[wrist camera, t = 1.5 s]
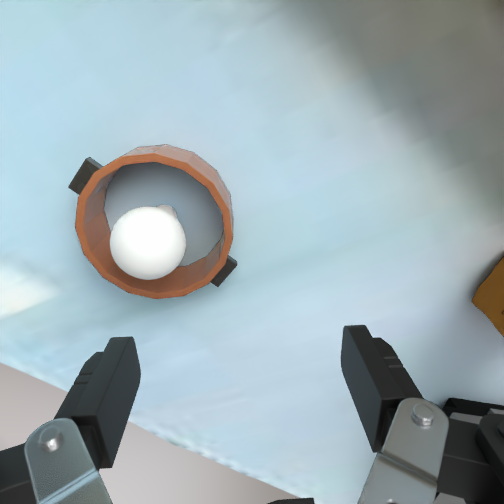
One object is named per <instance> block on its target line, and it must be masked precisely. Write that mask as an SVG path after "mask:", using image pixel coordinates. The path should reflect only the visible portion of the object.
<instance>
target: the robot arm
mask: <svg viewBox="0 0 504 504" xmlns="http://www.w3.org/2000/svg"><path fill="white" fill-rule="evenodd" d="M341 367H342V372H343V375H344V378H345V380H346V383H347V386H348V388H349V391H350V393H351V396H352V399H353V401H354V404H355V407H356V409H357V412H358V414H359V417H360V420H361V422H362V425H363V427H364V430H365V433H366V435H367V438H368V440H369V443H370V446H371V448H372V451H373V453H375V452H378V453H377V455H376V457H375V460H374V463H373V465H372V468H371V470H370V473H369V475H368V478H367V480H366V483H365V486H364V488H363V491H362V493H361V496H360V498H359V501H358V503H357V504H434V501H435V496H436V492H440V493H444V494H447V495H451V496H455V497H459V498H463V499H464V501H465V502H466V504H504V415H502V414H495V413H493V414H487V415H485V416H483V417H482V418H481V420H480V423H479V424H475V423H470V422H465V421H461V420H456V419H452V418H449V417H447V416H446V414H445V413H444V412H443V411H442V410H441V409H440V408H439V407H438V406H437V405H435V404H434V403H432V402H430V401H428V400H425V399H424V398H423V397H422V395H421V394H420V392H419V390H418V389H417V387H416V385H415V384H414V382H413V381H412V379H411V377H410V376H409V374H408V372H407V371H406V369H405V368H404V367H403V364H402V363H401V361H400V360H399V359H398V356H397V355H396V353H395V351H394V350H393V348H392V347H391V346H390V345H389V344H388V343H387V342H385V341H384V340H383V339H382V338H372V336H371V334H370V332H369V330H368V329H367V327H366V326H365V325H351V326H344V329H343V339H342V350H341ZM140 377H141V370H140V364H139V360H138V355H137V350H136V345H135V341H134V338H133V337H113V338H111V339H110V340H109V342H108V344H107V346H106V348H105V350H104V352H96V353H95V354H94V355H93V356H92V357H91V358H90V359H88V360H87V361H86V362H85V364H84V366H83V367H82V369H81V371H80V373H79V376H77V378H76V380H75V382H74V385H72V387H71V389H70V391H69V392H68V394H67V396H66V398H65V400H64V401H63V403H62V405H61V407H60V409H59V410H58V412H57V414H56V416H55V417H54V419H53V420H51V421H49V422H47V423H45V424H43V425H41V426H40V427H39V428H37V429H36V430H35V431H34V432H33V433H32V434H31V435H30V436H29V437H28V439H27V441H26V442H25V443H24V444H21V445H18V446H15V447H12V448H8V449H6V450H2V451H0V504H113V503H112V501H111V499H110V496H109V494H108V492H107V489H106V487H105V485H104V483H103V481H102V478H101V476H100V474H99V469H100V468H101V469H102V468H112V466H113V463H114V460H115V457H116V454H117V451H118V448H119V445H120V442H121V439H122V436H123V433H124V430H125V427H126V424H127V421H128V418H129V415H130V412H131V409H132V406H133V403H134V400H135V396H136V393H137V390H138V387H139V384H140ZM268 504H314V499H313V498H300V499H286V500H277V501H274V502H271V503H268Z"/></svg>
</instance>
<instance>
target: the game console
mask: <svg viewBox="0 0 504 504" xmlns="http://www.w3.org/2000/svg"><path fill="white" fill-rule="evenodd" d="M442 411H443V412H444V413H445V414H446V416H447V417H449V418H452V419H456V420H461V421H465V422H470V423H475V424H479V423H480V420H481V418H482V417H483V416H485V415H487V414H493V413H495V414H502V415H504V406H501V405H495V404H489V403H482V402H476V401H469V400H463V399H456V398H449V400H448V401H447V403H446V404H445V406H444V408H443V409H442ZM434 504H466V502H465V501H464V499H463V498H459V497H455V496H451V495H447V494H444V493H440V492H436V496H435V501H434Z"/></svg>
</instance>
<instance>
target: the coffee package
mask: <svg viewBox="0 0 504 504" xmlns="http://www.w3.org/2000/svg"><path fill="white" fill-rule="evenodd" d="M472 303H473V304H474V305H475V306H476V307H477V308H478V309H480V310H481V311H482V312H483V313H484V314H485V315H486V316H487V317H488V318H489V319H490V321H491V322H492V323H493V325H494V326H495V327H496V329H497V330H498V331H499V332H500V333H501V334H502V335H503V336H504V257H503V258H502V259H501V260H500V262H499V263H498V264H497V265H496V267H495V268H494V270H493V271H492V273H491V274H490V275H489V276H488V278H487V279H486V280H485V281H484V282H483V283H482V284H481V285H480V286H479V288H478V289H477V291H476V294H475V296H474V298H473V299H472Z"/></svg>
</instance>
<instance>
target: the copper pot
mask: <svg viewBox="0 0 504 504" xmlns="http://www.w3.org/2000/svg"><path fill="white" fill-rule="evenodd" d="M146 162H158V163H161V164H165V165H168V166H172V167H175V168H179V169H182V170H184V171H185V172H187V173H188V174H189V175H191V176H192V177H193V178H195V179H196V180H197V181H199V182H200V183H201V184H203V185H204V186H205V187H206V188H208V190H209V192H210V193H211V195H212V197H213V198H214V200H215V202H216V203H217V205H218V207H219V208H220V210H221V212H222V217H223V224H224V230H223V234H222V237H221V240H220V241H219V242H218V243H217V245H216V246H215V247H214V248H213V249H212V251H211V252H210V253H209V254H208V255H207V256H206V257H204V258H202V259H200V260H198V261H196V262H194V263H192V264H190V265H188V266H180V267H176V268H175V270H173V271H172V272H171V273H169V274H167V275H165V276H163V277H161V278H158V279H152V280H145V279H139V278H135V277H133V276H131V275H129V274H127V273H126V272H124V271H123V270H122V269H121V268H120V267H119V266H118V265H117V264H116V262H115V261H114V259H113V257H112V254H111V250H110V236H111V232H110V228H109V225H108V221H107V218H106V214H105V211H104V204H105V197H106V190H107V186H108V184H109V183H110V181H111V180H112V178H113V177H114V175H115V174H116V172H117V171H118V169H119V168H120V167H122V166H124V165H127V164H136V163H146ZM68 188H70V189H71V190H73V191H74V192H76V193H77V194H79V197H78V203H77V212H76V222H75V229H76V232H77V235H78V238H79V241H80V244H81V247H82V250H83V253H84V255H85V256H86V257H87V259H88V260H89V261H90V262H91V263H92V265H93V266H94V267H95V268H96V269H97V271H98V272H99V273H100V274H101V275H102V277H103V278H105V279H107V280H108V281H110V282H112V283H113V284H115V285H117V286H118V287H120V288H121V289H123V290H125V291H126V292H128V293H132V294H136V295H140V296H145V297H149V298H154V299H161V298H170V297H180V296H185V295H187V294H189V293H191V292H193V291H195V290H197V289H199V288H201V287H203V286H205V285H207V284H209V282H211V283H212V284H214V285H215V286H217V287H219V285H220V284H221V283H222V282H223V281H224V280H225V279H226V277H227V276H228V275H229V274H230V273H231V272H232V271H233V270H234V268H235V267H236V266H237V261H236V260H234V259H233V258H232V257H230V256H229V255H228V254H229V250H230V247H231V244H232V240H233V212H232V204H231V196H230V193H229V191H228V189H227V188H226V186H225V184H224V182H223V181H222V179H221V177H220V175H219V174H218V172H217V170H215V169H214V168H213V167H212V166H210V165H209V164H208V163H207V162H205V161H204V160H203V159H202V158H200V157H199V156H198V155H196V154H195V153H193V152H190V151H187V150H183V149H180V148H177V147H173V146H170V145H167V144H164V145H155V146H146V147H138V148H136V149H134V150H132V151H130V152H128V153H126V154H125V155H123V156H121V157H119V158H117V159H116V160H114V161H112V162H111V163H109V164H107V165H106V166H104V167H103V166H102V165H100V164H99V163H98V162H96V161H95V160H93V159H92V158H91V157H89V158H86V159H85V161H84V162H83V164H82V166H81V167H80V169H79V170H78V172H77V174H76V175H75V177H74V178H73V180H72V182H71V183H70V185H69V187H68Z"/></svg>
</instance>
